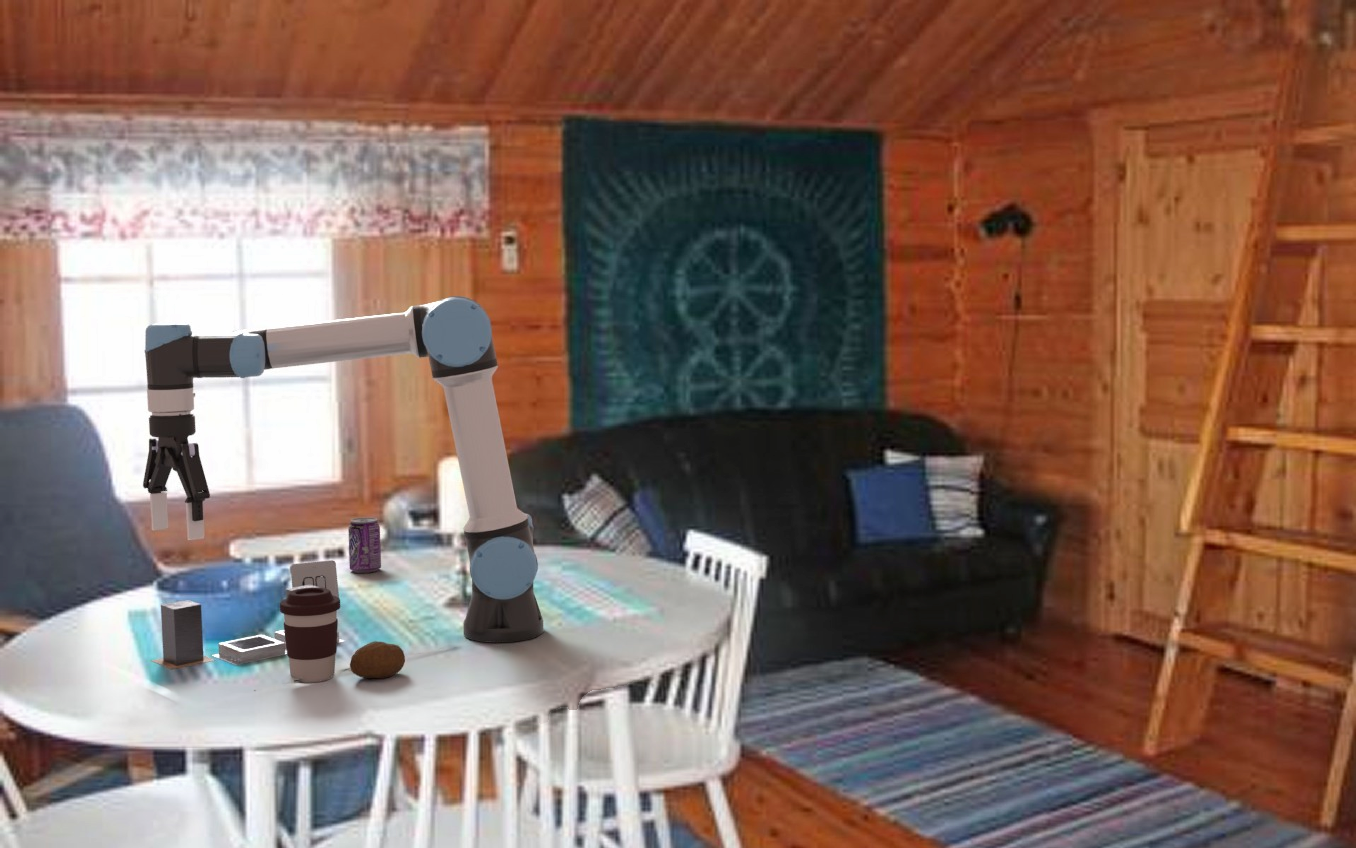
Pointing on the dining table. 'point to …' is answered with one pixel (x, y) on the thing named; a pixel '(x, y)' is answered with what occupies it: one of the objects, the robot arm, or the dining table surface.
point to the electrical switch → (315, 575)
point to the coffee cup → (311, 633)
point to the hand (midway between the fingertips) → (177, 534)
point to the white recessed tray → (254, 648)
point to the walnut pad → (171, 666)
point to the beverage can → (364, 545)
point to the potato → (377, 660)
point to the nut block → (182, 632)
